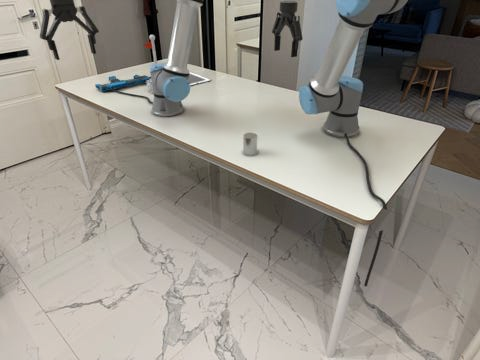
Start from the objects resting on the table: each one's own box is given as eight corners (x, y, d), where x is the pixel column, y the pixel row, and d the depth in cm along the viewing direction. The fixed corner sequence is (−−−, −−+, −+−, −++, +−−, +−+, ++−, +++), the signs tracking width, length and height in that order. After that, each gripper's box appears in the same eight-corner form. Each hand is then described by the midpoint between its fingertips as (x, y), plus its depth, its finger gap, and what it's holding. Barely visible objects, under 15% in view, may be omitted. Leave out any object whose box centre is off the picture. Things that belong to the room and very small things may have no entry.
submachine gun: (140, 69, 223) (158, 75, 206) (141, 75, 225) (159, 81, 208) (87, 79, 204) (103, 87, 188) (89, 85, 206) (105, 94, 190)
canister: (255, 156, 131) (256, 139, 127) (242, 154, 132) (242, 137, 128) (258, 149, 135) (258, 133, 131) (244, 148, 136) (245, 131, 132)
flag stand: (168, 85, 203) (161, 31, 187) (172, 92, 193) (166, 36, 177) (146, 88, 199) (137, 33, 183) (149, 95, 189) (140, 37, 173)
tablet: (157, 75, 221) (157, 74, 221) (183, 69, 232) (183, 69, 232) (184, 87, 201) (183, 86, 200) (211, 80, 212) (211, 79, 211)
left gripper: (22, -6, 107) (44, 63, 118) (99, -10, 121) (112, 52, 132) (16, -7, 111) (37, 60, 123) (91, -11, 125) (103, 49, 137)
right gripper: (265, -1, 151) (263, 48, 163) (299, 5, 133) (294, 60, 145) (279, -2, 154) (277, 47, 166) (314, 4, 136) (308, 58, 148)
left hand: (76, 56), depth 128 cm, fingers open, 13 cm apart
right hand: (285, 53), depth 155 cm, fingers open, 13 cm apart
